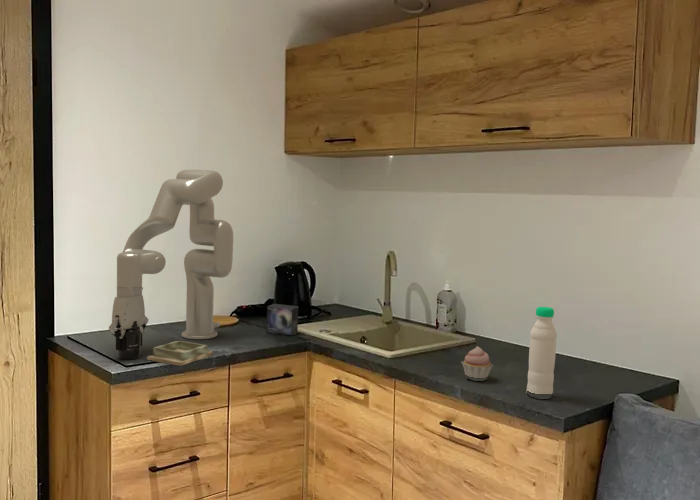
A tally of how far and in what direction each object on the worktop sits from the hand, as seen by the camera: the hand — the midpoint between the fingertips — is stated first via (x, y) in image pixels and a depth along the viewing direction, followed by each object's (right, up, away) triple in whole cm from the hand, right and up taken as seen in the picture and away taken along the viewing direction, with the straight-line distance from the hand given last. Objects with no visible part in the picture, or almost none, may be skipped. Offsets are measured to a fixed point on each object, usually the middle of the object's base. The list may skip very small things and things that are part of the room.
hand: (129, 347), depth 214 cm
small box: (+44, -1, +42) cm, 61 cm away
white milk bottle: (+122, -10, -24) cm, 125 cm away
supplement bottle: (0, -3, 0) cm, 3 cm away
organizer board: (+15, -3, +3) cm, 16 cm away
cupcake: (+107, -8, -9) cm, 108 cm away
